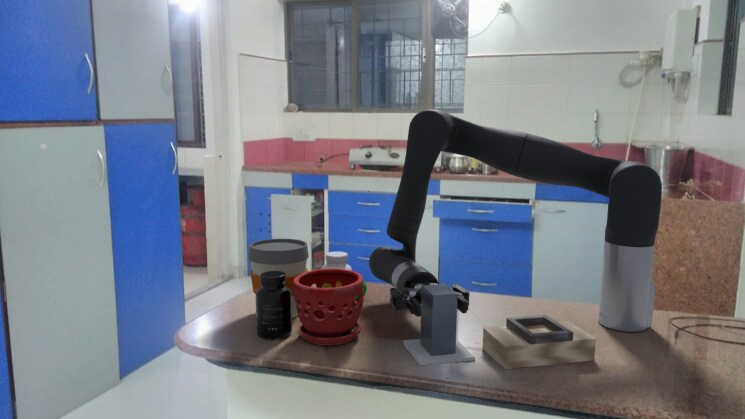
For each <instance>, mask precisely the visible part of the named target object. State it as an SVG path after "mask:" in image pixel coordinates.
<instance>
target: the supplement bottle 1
mask: <svg viewBox="0 0 745 419" xmlns="http://www.w3.org/2000/svg"><path fill="white" fill-rule="evenodd" d="M285 284H286V274H285V273H284V272H281V271H268V272H264V273H262V274H261V275H260V285H262V286H261V287H259V288H258V289H257V291H256V294H255V317H256V319H255V321H256V322H255V324H256V334H257V336H258V337H260V338H261V339H264V340H272V341H273V340H281V339H285V338H287V337H289V336H290V335H291V334H292V332H293V318H292V296H291V290H290V288H289V287H288V286H286V285H285Z"/></svg>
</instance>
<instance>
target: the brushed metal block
mask: <svg viewBox="0 0 745 419" xmlns="http://www.w3.org/2000/svg"><path fill="white" fill-rule="evenodd" d="M451 288H452V287H450V286H448V285H447V284H446V283H439V284H435V285H422V288H421V316H420V337H419V339H420V343H421V345H422V346H423V347H424V348H425V349H426V350H427V352H428V353H429V354H430V355H431V356H438V355H448V354H456V339H457V326H458V325H457V322H458V320H457V319H458V309H457V295H458V293H456V292H455V291H454V290H452V289H451Z"/></svg>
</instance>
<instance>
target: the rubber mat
mask: <svg viewBox="0 0 745 419" xmlns="http://www.w3.org/2000/svg"><path fill="white" fill-rule="evenodd" d="M402 343H403V345H404V346H405V348H406V349H407V351H408V352H409V353H410V354H411V356H412V357H413V358H414V360H415V361H416V363H417V364H418V365H419V366H430V365H431V366H432V365H440V364H451V363H452V364H453V363H462V362H473V361H475V360H476V357H475V355H473V353H471V351H469V350H468V348H466V347H465V346H464V344H463V343H461V342H460V340H458V338H456V354H448V355H438V356H431V355H430V354H429V353H428V352H427V350H426V349H425V348H424V347H423V346H422V345H421V343H420V338H415V339H404V340H403V339H402Z"/></svg>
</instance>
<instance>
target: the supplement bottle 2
mask: <svg viewBox="0 0 745 419" xmlns="http://www.w3.org/2000/svg"><path fill="white" fill-rule="evenodd" d="M348 257H349V253H347V252H344V251H329V252H327V253H326V254H325V261H326V264H324V265H323V266H322V267H321V269H346V270H351V271H353V269H352V266H351V265H349V264H348V263H347V262H348V260H349V258H348ZM336 286H337V287H341V286H342V283H341V282H340V281H337V282H336ZM322 288H332V286H331V285H330V284H329V283H325V284H323V285H322Z"/></svg>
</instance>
